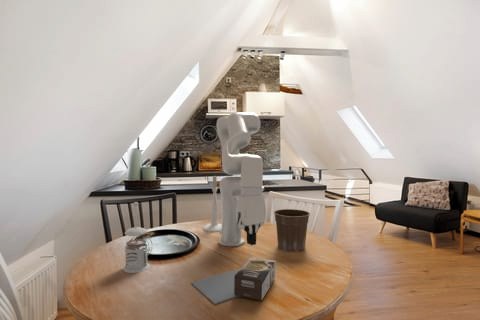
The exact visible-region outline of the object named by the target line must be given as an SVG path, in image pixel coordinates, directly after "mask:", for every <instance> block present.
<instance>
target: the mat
mask: <svg viewBox="0 0 480 320" xmlns="http://www.w3.org/2000/svg"><path fill="white" fill-rule="evenodd" d="M239 270H240V269H234V270H230V271H227V272H223V273H220V274H217V275H212V276H208V277H205V278H201V279H198V280H195V281H191V283H190V284H191V285H192V286H194V287H195V288H196V289H197V290H198V291H199V292H200V293H201V294H202V295H203V296H204V297H206V298H207V299H208V301H210V302H211V303H212V304H213V305H215V306H216V305H218V304H221V303H224V302H227V301H230V300H233V299H236V298H239V297H240V296H237V295H234V276H235V275H236V274H237V272H238V271H239Z"/></svg>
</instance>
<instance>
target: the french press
mask: <svg viewBox="0 0 480 320" xmlns="http://www.w3.org/2000/svg"><path fill="white" fill-rule="evenodd" d="M132 206H135V207H134V208H135V210H137V206H139V202H137V201H135V202H133V204H132ZM147 232H148V230H147V229H146V228H144V227H140V226H134V227H131V228H129V229H127V230H125V232H124V234H125V236H129V237H135V239H132V240H129V241H126V244H125V245H126V246H125V249H124V250H125V251H124V253H125V265H124V266H123V268H122V271H123V272H125V273H128V274H135V273H136V274H138V273H141V272H144V271H146V270H149V269H150V266H151V265H150V263H149V262H148V256H149V255H150V254H151V253H152V251H153V248H151V249H150V248H148V245H150V243H151V245H153V242H152V239H151V238H150V236H149V235H146V236H144V235H145V234H147ZM142 235H143V237H142V239H140V238H138V237H137V236H142ZM148 239H149V241H150V243H149V241H148Z"/></svg>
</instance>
